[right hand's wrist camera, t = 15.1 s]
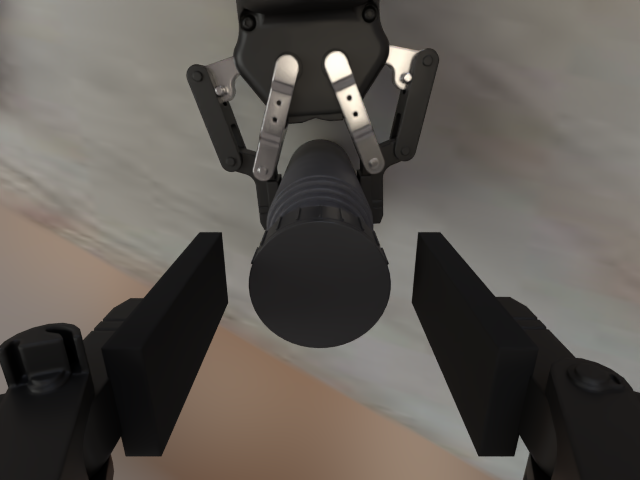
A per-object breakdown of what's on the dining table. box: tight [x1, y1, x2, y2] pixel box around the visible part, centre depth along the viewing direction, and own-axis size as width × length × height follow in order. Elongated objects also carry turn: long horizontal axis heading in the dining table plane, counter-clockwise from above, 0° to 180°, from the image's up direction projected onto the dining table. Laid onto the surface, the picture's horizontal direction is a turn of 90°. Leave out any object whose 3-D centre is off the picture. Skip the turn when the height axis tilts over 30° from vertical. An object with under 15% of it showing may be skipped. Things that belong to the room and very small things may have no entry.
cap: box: [249, 204, 391, 348], centre depth 13 cm, size 5×5×2 cm
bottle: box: [266, 140, 373, 231], centre depth 22 cm, size 5×5×19 cm
